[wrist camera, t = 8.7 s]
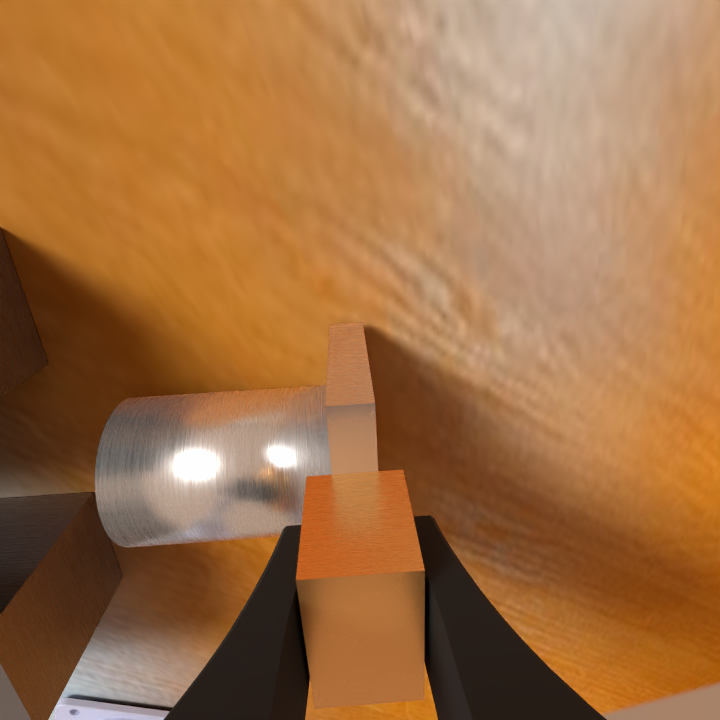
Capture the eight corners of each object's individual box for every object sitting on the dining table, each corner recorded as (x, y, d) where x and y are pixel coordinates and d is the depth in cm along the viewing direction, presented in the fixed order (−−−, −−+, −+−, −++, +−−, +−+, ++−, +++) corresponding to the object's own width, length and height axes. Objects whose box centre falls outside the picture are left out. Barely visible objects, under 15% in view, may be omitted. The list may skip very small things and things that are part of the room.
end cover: (182, 510, 20) (59, 780, 11) (137, 336, 16) (-85, 522, 8) (386, 496, 20) (424, 751, 11) (380, 321, 17) (425, 487, 8)
